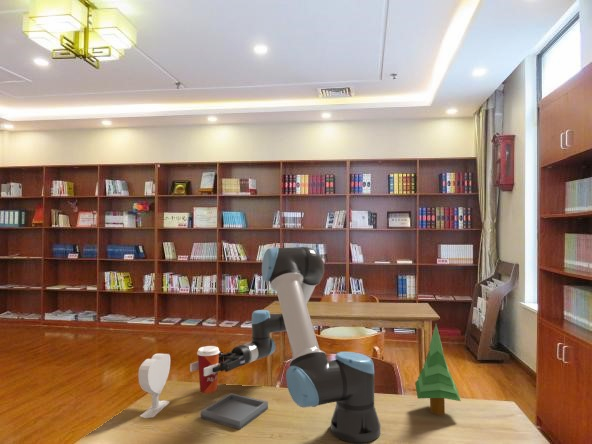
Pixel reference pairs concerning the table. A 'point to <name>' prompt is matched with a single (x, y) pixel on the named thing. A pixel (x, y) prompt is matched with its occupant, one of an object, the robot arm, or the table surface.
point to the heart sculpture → (154, 381)
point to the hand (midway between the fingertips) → (197, 370)
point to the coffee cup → (206, 359)
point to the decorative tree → (436, 378)
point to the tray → (234, 410)
